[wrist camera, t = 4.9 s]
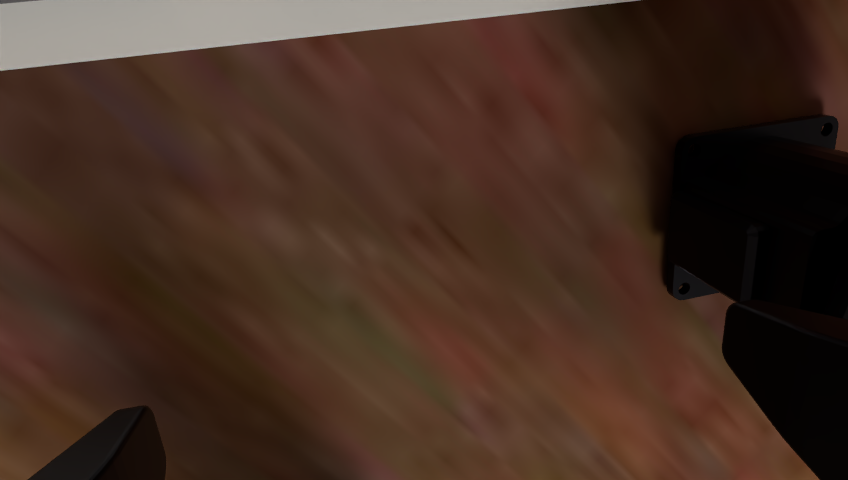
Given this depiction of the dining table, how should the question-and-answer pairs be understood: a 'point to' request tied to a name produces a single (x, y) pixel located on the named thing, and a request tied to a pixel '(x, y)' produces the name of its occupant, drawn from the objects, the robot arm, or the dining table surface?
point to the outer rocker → (14, 1)
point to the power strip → (215, 23)
